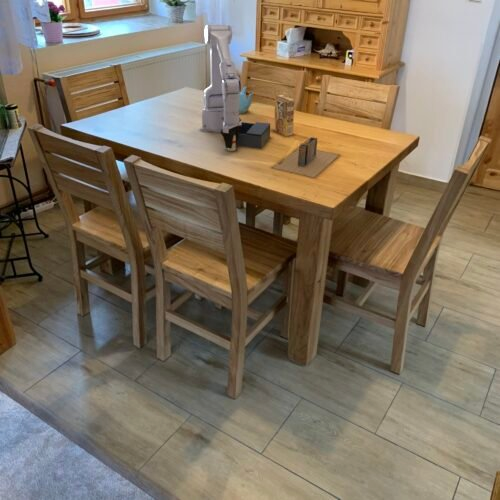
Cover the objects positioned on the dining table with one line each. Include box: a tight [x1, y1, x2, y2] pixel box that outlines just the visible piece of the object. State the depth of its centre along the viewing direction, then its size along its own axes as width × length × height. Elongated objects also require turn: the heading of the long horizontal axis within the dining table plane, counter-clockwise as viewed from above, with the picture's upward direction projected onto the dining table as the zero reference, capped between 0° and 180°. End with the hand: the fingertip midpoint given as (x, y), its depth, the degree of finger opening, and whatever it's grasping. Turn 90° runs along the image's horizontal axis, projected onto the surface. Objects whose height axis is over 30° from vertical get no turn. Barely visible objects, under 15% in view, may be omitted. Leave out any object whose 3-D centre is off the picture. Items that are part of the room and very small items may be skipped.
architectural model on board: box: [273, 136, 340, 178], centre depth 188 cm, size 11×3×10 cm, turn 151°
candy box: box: [273, 94, 296, 137], centre depth 214 cm, size 9×4×15 cm, turn 33°
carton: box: [236, 121, 271, 149], centre depth 207 cm, size 13×15×6 cm
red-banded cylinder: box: [227, 135, 237, 152], centre depth 198 cm, size 3×3×6 cm
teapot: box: [239, 86, 254, 115], centre depth 242 cm, size 15×15×10 cm
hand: (231, 145), depth 199 cm, fingers open, 6 cm apart
